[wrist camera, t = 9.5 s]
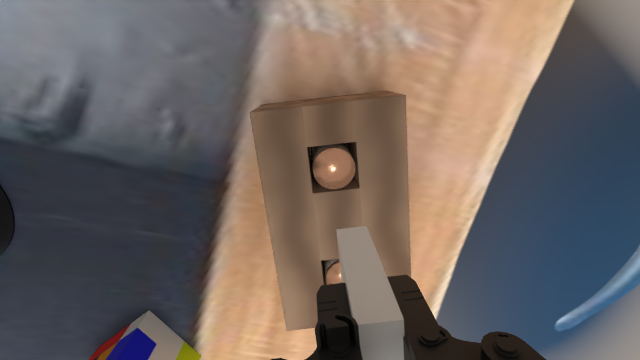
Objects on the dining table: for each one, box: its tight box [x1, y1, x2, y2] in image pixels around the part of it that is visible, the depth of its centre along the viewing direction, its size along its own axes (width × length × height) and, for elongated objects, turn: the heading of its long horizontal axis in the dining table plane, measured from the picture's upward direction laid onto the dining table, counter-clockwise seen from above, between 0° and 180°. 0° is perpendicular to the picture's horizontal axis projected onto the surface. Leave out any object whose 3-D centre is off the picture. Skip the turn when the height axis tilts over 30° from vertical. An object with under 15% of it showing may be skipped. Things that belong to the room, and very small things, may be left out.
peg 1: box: [312, 143, 355, 189], centre depth 35 cm, size 4×4×8 cm
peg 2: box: [324, 259, 342, 285], centre depth 39 cm, size 4×4×8 cm
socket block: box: [250, 91, 411, 331], centre depth 37 cm, size 14×24×8 cm, turn 6°
